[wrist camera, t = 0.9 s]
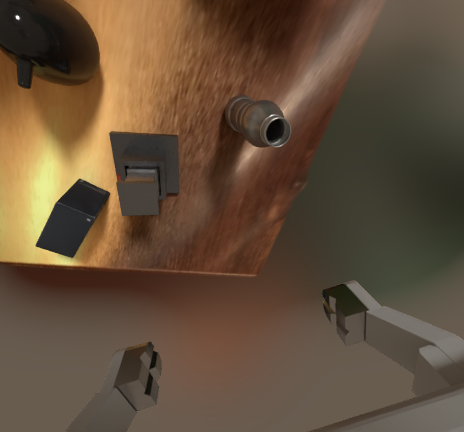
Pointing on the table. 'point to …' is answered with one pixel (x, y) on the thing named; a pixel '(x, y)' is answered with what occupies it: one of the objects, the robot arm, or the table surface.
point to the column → (140, 191)
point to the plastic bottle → (258, 121)
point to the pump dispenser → (48, 42)
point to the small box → (72, 218)
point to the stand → (147, 156)
